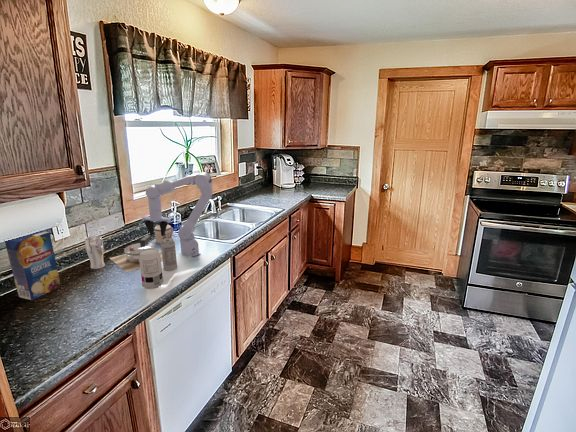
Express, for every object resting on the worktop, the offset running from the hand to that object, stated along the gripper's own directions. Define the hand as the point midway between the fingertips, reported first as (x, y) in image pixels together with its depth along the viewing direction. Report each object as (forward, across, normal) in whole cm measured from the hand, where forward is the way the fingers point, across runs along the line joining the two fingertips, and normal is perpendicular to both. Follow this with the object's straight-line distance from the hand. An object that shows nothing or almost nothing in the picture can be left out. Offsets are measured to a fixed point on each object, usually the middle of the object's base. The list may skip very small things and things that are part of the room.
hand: (157, 235), depth 169 cm
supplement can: (+10, +14, -32) cm, 36 cm away
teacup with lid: (+11, -5, +18) cm, 21 cm away
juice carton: (+11, -28, -44) cm, 53 cm away
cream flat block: (+10, -5, -9) cm, 14 cm away
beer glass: (+11, -20, -20) cm, 30 cm away
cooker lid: (+5, -5, -6) cm, 10 cm away
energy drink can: (+10, +15, -17) cm, 25 cm away
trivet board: (+10, -5, -9) cm, 15 cm away
